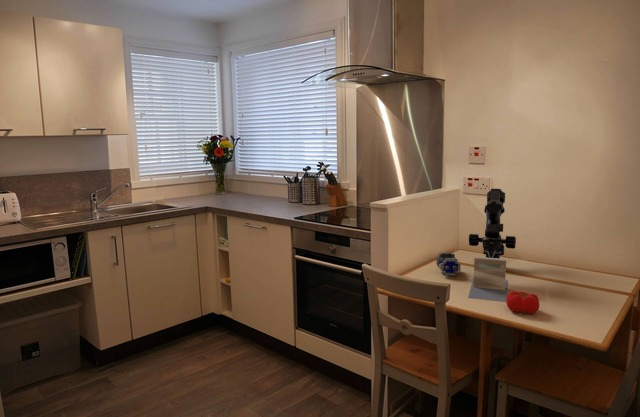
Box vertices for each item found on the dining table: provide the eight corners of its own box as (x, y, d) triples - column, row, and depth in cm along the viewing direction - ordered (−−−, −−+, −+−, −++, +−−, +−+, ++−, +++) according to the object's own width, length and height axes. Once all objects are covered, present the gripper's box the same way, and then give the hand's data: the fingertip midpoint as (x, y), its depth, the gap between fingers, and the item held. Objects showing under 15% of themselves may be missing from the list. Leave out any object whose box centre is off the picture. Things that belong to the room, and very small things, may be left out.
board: (474, 284, 195) (475, 256, 193) (505, 287, 191) (506, 259, 189) (473, 287, 192) (474, 258, 190) (504, 290, 188) (506, 261, 186)
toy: (441, 260, 203) (435, 251, 218) (441, 279, 205) (435, 269, 219) (461, 260, 203) (454, 251, 218) (461, 279, 204) (454, 269, 219)
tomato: (537, 318, 160) (538, 300, 159) (503, 313, 165) (504, 295, 164) (540, 309, 168) (541, 291, 167) (507, 304, 173) (508, 287, 172)
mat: (473, 278, 205) (473, 277, 205) (507, 281, 200) (507, 280, 200) (467, 298, 180) (467, 297, 180) (507, 303, 174) (507, 302, 174)
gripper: (469, 215, 201) (466, 246, 193) (516, 217, 194) (515, 249, 186) (470, 230, 210) (467, 260, 201) (515, 232, 202) (514, 263, 194)
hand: (490, 258), depth 195 cm, fingers closed
